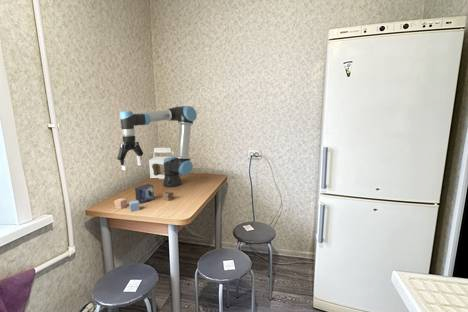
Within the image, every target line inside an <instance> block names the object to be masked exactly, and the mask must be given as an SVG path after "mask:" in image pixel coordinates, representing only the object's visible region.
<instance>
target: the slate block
mask: <svg viewBox="0 0 468 312" xmlns="http://www.w3.org/2000/svg"><path fill="white" fill-rule="evenodd" d="M128 203H129V204H128V206H129V211H130V212H137V211H140V203H139V202H138V200H136V199H135V200H132V201H129V202H128Z"/></svg>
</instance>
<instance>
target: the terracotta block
mask: <svg viewBox="0 0 468 312" xmlns="http://www.w3.org/2000/svg"><path fill="white" fill-rule="evenodd" d="M113 202H114V203H113V204H114V209H117V210H118V209H119V210H123V209H124V208H126V207H127V206H128V204H127V202H128V201H127V198H118V199H115V200H114V201H113Z"/></svg>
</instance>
